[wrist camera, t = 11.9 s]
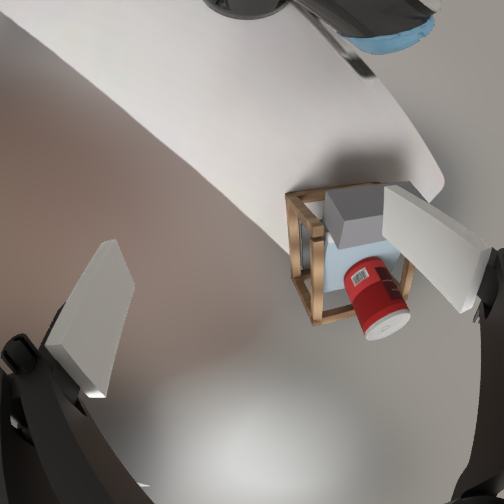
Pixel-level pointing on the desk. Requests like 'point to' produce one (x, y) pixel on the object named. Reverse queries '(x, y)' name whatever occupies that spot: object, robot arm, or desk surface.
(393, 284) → the canned food
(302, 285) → the frame
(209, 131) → the desk surface
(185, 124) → the desk surface
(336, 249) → the trapdoor
